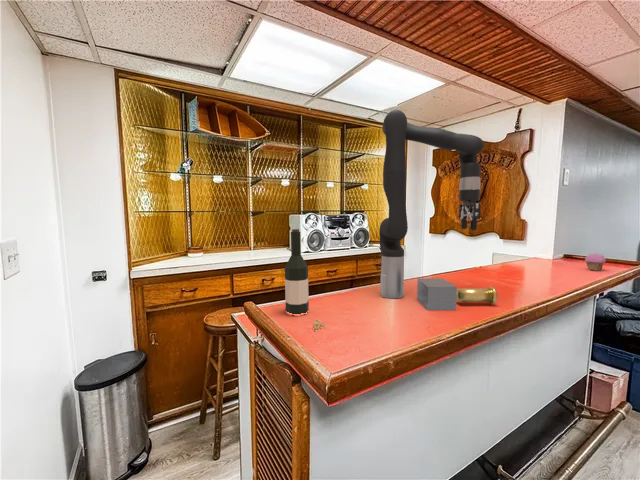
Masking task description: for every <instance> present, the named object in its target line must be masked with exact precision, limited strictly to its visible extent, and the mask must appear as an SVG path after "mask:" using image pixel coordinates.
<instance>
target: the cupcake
mask: <svg viewBox="0 0 640 480" xmlns="http://www.w3.org/2000/svg"><path fill="white" fill-rule="evenodd" d="M584 261H585V262H586V267H587V269H588V270H589V271H594V272H600V271H602V270H603V265H604V263H606V261H607V259H606V257H605V256H604V255H603V254H598V253H590V254H588V255H586V256H585V259H584Z"/></svg>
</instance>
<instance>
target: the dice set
mask: <svg viewBox="0 0 640 480" xmlns="http://www.w3.org/2000/svg"><path fill="white" fill-rule="evenodd" d="M319 323H320V325H318V324H319ZM314 325H315V326H314ZM324 326H325V323H324V322H321V321H320V320H319V319H315V320H314V322H313V327H314V330H319V331H320V327H324ZM314 330H313V331H314Z"/></svg>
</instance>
